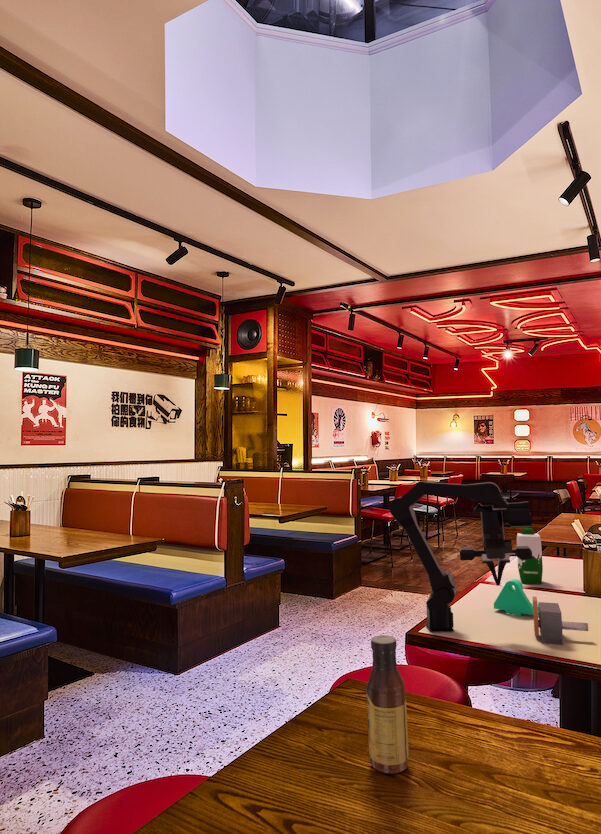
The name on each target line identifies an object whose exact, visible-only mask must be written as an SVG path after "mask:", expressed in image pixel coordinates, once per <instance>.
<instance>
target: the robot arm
mask: <svg viewBox="0 0 601 834" xmlns="http://www.w3.org/2000/svg"><path fill="white" fill-rule="evenodd" d="M499 487H500V486H498V485H497V484H496V483H494V482H491V481H487V482H478V483H477V482H476V483H469V484H462V483H447V482H434V481H433V482H432V481H431V482H430V481H425V480H421V481H418V482H416V483H415V485H414V486H413V487H412V488H410V489H409V490H408V491H407V492H406V493H405V494H403V495H402V496H399V497H397V498H396V497H395V498H393V500H391V502H390V504H389V509H388V511H389V513H390V514H391V516H392V517H393V518H394V520H395V521H396V523H398V524H399V526H401V528H402V529H403V530H404V531H405V533H406V535H407V537H408V538H409V539H408V540H409V541H410V543H411V544H412V547H413V548H414V551H415V553H416V554H417V556H418V557H419V558H418V559H419V560H420V562H421V564H422V565H423V568H424V569H425V572H426V573H427V575H428V576H427V577H428V580H429V584H430V587H431V591H432V592H431V594H430V595H429V596H428V599H426V602H425V603H426V604H425V605H426V623H425V627H426V628H427V629H428V631H430V632H431V633H447V632H448V633H449V632H451V633H452V632H455V629H454V613H453V612H452V607H451V606H450V605H449V604H451V603H452V602H453V601H454V599H455V597H456V594H457V584H458V583H457V581H455V580H454V578H453V575H452V573H451V570H448V571H446V572H445V569H443V568H442V567H441V566H440V565H441V564H440V563H439V561H438V560H437V558H436V556H435V554H434V552H433V550H432V548H431V547H430V545H429V543H428V541H427V539H426V537H425V535H424V533H423V531H422V529H421V527H420V526H419V524H418V521H417V515H416V512H415V510H414V505H415V504H416V503H417V502H419V500H420V499H422V498H423V496H437V497H448V498H451V497H452V498H462V499H468V500H472V501H474V502H478V503H477V505H476V507H474V508H473V513H480V521H481V533H482V541H483V542H482V544H483V549H478V550H477V549H475V547H473V546H472V547H471V546H469V547H465V546H464V547H461V548H460V549H459V557H460V558H459V559H460V561H473V560H474V559H475V558H481V563H482V564H486V566H487V567H488V569H489V570H490V573H491V575H492V577H493V580H494V582H495V585H496V586H500V585H501V580H502V578H503V573H504V570H505V567H506V565H507V564H509V563H511V557H518V558H519V559H520V560H522V559H533V558H532V550H531V549H530V548H529V547H528V546H517V545H516V546H514V549H513V541H512V539H505V538H506V537H505V529H504V519H505V524H507V525H510V527H509V528H532V527H533V522H532V521H533V520H532V514H531V510H530V502H529V501H521V502H508V501H507V499H505V497H504V496H503V495H502V494H501V490H500V488H499ZM481 503H483V504H487V505H482V504H481ZM493 504H494V505H496V506H497V507H499V508H494V505H493ZM503 512H504V517H505V518H504V517H503ZM518 558H517V559H518ZM494 559H495V560H496V559H497V572H496V567H495V562H494Z"/></svg>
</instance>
